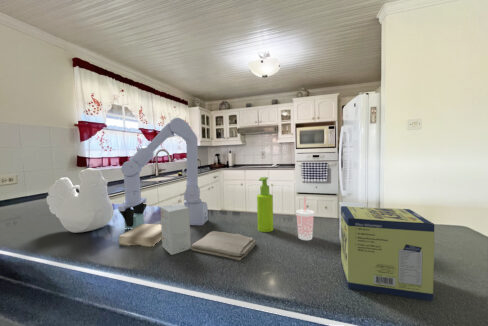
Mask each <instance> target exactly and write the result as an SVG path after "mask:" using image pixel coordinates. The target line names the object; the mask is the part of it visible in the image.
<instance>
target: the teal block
mask: <svg viewBox="0 0 488 326" xmlns="http://www.w3.org/2000/svg"><path fill="white" fill-rule="evenodd" d="M140 224H145V216H144V213H143V214H135V213H134V217H133V226H132V227H127V225H126V222H125V220H124V229H125V228H127V229H128V228H129V229H130V228H135V227H137V226H139V225H140ZM127 229H126V230H127Z"/></svg>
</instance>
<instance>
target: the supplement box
mask: <svg viewBox="0 0 488 326" xmlns="http://www.w3.org/2000/svg"><path fill="white" fill-rule="evenodd" d="M338 204H339V205H338V206H339V207H338V209H339V210H338V211H339V213H338V214H339V225H338V226H339V232H338V233H339V234H338V235H339V241H340V242H341V206H349V207H367V205H365V203H364V202H351V201H348V202H347V201H339V203H338Z"/></svg>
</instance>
